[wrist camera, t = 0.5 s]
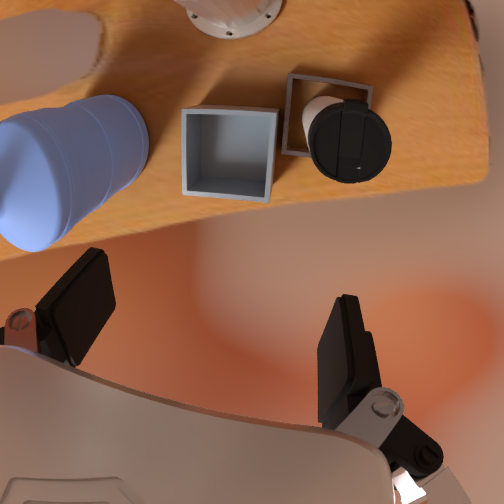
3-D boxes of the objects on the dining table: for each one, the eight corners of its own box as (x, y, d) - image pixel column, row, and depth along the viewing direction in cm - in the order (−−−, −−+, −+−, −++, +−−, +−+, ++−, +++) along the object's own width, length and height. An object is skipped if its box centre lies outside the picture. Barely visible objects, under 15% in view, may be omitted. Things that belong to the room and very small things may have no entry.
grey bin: (199, 104, 38) (181, 109, 32) (279, 108, 37) (276, 112, 31) (198, 178, 43) (182, 194, 37) (272, 184, 42) (269, 203, 36)
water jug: (170, 127, 40) (24, 202, 16) (124, 206, 47) (11, 317, 23) (95, 77, 36) (-63, 111, 12) (60, 156, 44) (-66, 232, 20)
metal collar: (288, 73, 34) (288, 73, 32) (368, 86, 33) (373, 86, 31) (282, 150, 40) (281, 154, 38) (358, 160, 39) (362, 165, 37)
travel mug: (350, 95, 34) (399, 106, 17) (346, 143, 38) (388, 193, 21) (302, 91, 35) (311, 94, 18) (300, 139, 39) (306, 185, 22)
